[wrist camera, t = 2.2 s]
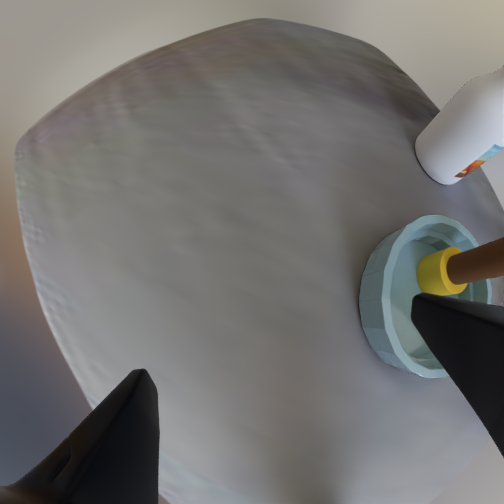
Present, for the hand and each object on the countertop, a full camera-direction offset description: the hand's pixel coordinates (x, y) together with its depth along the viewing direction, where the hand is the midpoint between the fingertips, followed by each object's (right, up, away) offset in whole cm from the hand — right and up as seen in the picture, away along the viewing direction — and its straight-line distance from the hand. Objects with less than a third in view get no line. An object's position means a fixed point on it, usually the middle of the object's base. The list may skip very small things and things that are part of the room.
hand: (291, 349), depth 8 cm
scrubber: (+17, 0, +16) cm, 24 cm away
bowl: (+16, -2, +16) cm, 22 cm away
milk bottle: (+22, +15, +20) cm, 33 cm away
